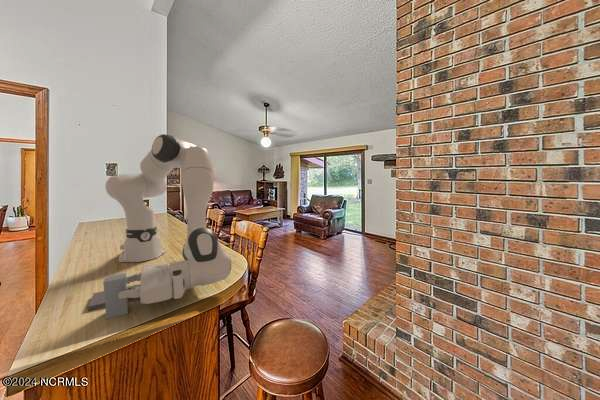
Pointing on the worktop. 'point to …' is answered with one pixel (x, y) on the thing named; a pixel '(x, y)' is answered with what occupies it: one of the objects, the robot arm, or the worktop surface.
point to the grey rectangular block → (115, 295)
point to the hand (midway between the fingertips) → (120, 287)
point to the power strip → (99, 299)
